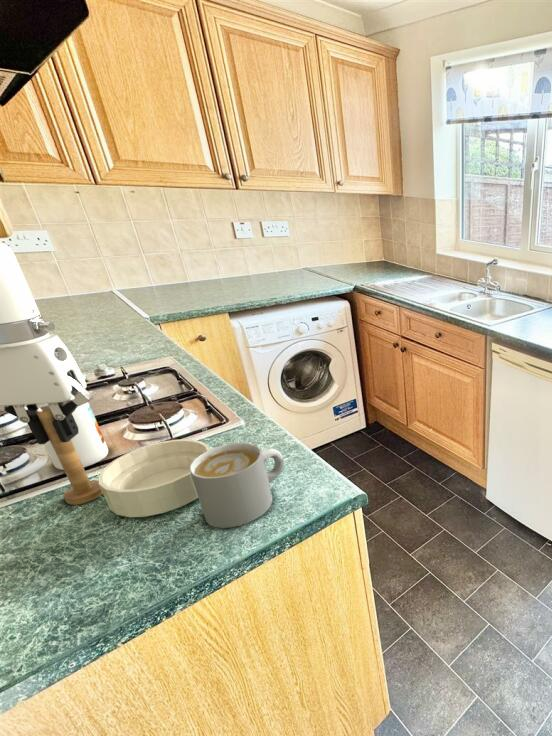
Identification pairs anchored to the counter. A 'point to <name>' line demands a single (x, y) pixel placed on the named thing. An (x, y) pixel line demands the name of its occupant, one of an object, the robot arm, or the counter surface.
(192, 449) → the bowl
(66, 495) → the wooden masher
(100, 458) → the milk bottle
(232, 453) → the coffee mug
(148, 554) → the counter surface
